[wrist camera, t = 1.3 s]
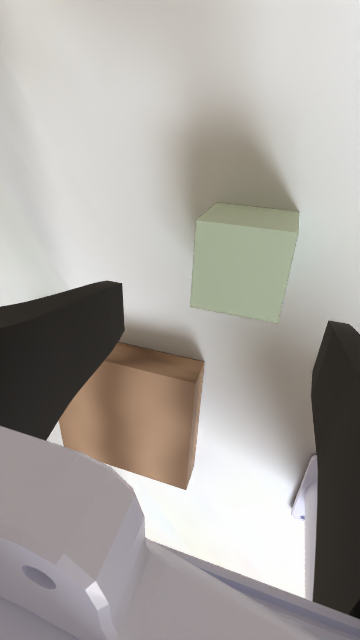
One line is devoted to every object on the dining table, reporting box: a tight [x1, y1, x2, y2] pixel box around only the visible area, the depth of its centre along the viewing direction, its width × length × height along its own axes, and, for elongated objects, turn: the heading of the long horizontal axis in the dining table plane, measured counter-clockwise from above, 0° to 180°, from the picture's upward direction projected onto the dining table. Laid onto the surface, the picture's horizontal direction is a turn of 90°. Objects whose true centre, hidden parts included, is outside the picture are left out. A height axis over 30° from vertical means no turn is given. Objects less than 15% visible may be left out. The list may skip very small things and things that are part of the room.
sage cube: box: [190, 203, 299, 323], centre depth 18 cm, size 4×4×4 cm
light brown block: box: [59, 342, 205, 490], centre depth 28 cm, size 12×12×2 cm
